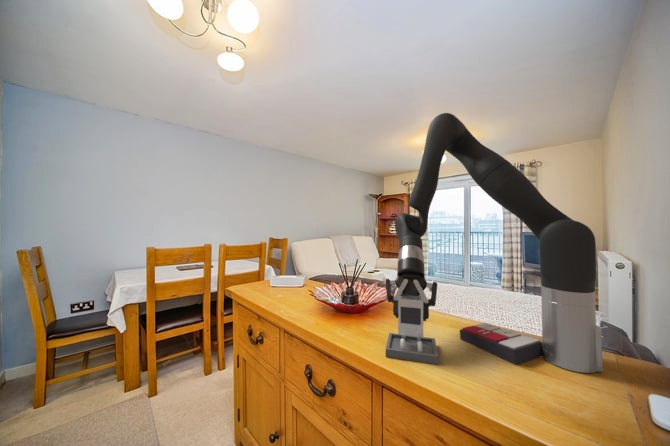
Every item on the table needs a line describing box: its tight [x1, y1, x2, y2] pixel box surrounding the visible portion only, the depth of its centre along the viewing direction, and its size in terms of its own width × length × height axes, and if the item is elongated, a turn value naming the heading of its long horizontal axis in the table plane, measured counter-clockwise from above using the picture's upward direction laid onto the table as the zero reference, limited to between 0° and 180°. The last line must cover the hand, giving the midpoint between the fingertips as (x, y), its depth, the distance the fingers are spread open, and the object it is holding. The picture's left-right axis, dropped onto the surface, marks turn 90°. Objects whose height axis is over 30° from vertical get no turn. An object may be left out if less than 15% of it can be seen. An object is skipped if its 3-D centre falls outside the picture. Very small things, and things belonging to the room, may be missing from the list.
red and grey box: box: [459, 322, 543, 366], centre depth 66 cm, size 11×4×15 cm
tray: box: [385, 332, 440, 365], centre depth 63 cm, size 12×10×4 cm
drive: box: [397, 295, 424, 337], centre depth 64 cm, size 6×4×9 cm
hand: (410, 318), depth 62 cm, fingers closed on drive, 6 cm apart
